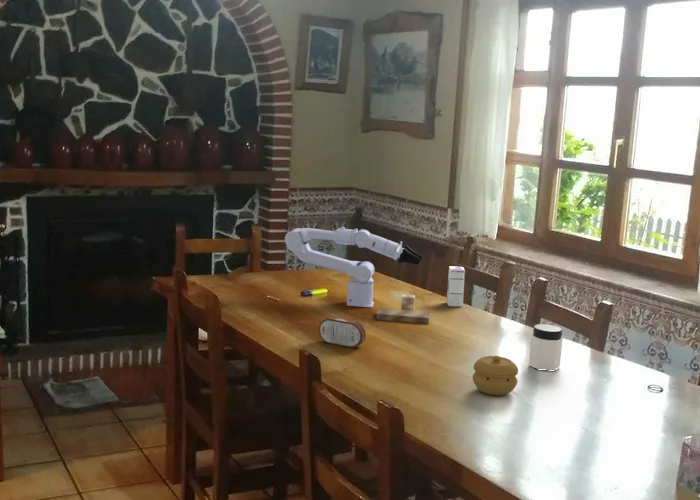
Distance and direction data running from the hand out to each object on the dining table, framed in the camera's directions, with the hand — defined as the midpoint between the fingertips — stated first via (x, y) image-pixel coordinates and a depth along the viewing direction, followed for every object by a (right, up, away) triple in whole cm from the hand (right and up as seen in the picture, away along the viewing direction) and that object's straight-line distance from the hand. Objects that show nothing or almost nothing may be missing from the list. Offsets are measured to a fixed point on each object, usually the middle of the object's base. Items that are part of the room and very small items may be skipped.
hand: (420, 260), depth 294 cm
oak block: (-5, -19, 0) cm, 19 cm away
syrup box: (+14, -17, +15) cm, 27 cm away
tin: (-28, -26, -45) cm, 59 cm away
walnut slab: (-7, -20, -10) cm, 23 cm away
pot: (+13, -34, -79) cm, 87 cm away
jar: (+32, -31, -56) cm, 71 cm away
